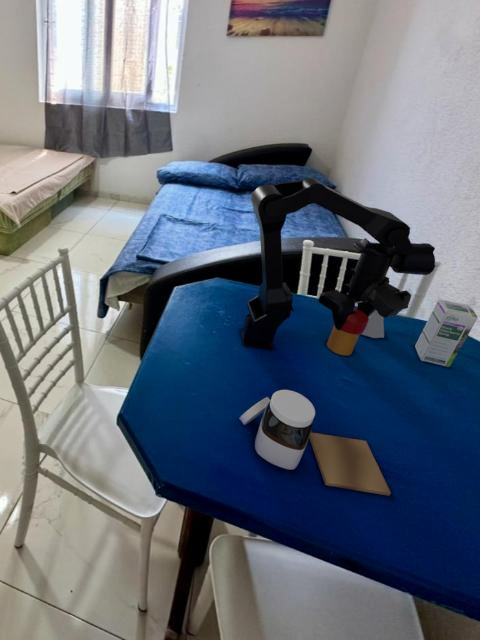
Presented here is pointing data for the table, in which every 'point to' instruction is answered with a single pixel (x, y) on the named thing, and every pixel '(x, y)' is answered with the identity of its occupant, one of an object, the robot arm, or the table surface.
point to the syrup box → (445, 332)
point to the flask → (375, 326)
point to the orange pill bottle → (342, 342)
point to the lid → (355, 323)
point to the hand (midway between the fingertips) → (348, 326)
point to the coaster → (348, 464)
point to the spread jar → (282, 427)
